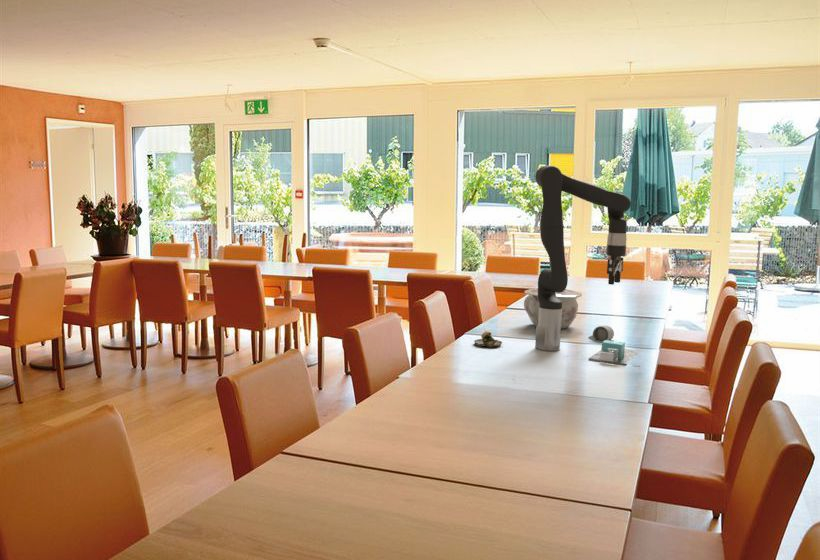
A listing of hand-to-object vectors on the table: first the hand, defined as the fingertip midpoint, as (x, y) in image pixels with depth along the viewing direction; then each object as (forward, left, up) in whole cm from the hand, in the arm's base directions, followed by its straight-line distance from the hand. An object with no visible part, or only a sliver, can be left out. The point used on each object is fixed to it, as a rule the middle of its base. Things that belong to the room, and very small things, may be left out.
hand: (614, 283), depth 286 cm
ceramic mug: (+9, +15, -28) cm, 33 cm away
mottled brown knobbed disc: (-43, +27, -29) cm, 58 cm away
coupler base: (-7, -10, -28) cm, 31 cm away
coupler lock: (-12, -13, -27) cm, 32 cm away
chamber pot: (+10, +50, -28) cm, 58 cm away
